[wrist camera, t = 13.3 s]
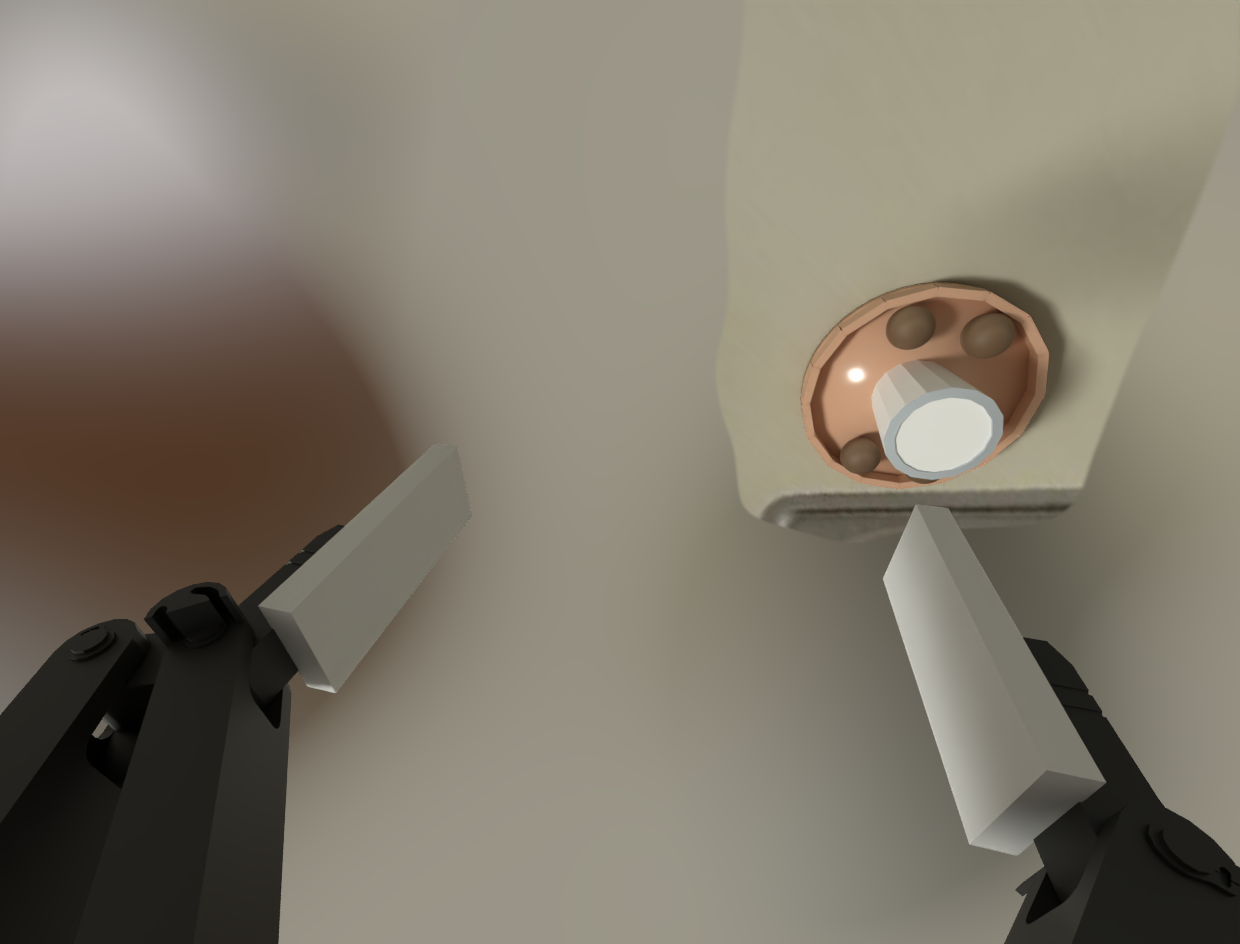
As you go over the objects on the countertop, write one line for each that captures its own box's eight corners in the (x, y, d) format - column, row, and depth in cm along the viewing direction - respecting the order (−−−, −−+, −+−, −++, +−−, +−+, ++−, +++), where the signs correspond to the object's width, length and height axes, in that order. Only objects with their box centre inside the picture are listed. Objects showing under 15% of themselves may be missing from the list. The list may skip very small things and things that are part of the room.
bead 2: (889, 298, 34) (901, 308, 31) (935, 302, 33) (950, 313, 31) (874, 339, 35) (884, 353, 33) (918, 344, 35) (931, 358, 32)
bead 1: (843, 428, 40) (850, 446, 37) (881, 434, 39) (890, 452, 37) (832, 459, 41) (838, 478, 39) (869, 464, 41) (877, 484, 38)
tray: (833, 271, 34) (838, 277, 33) (1080, 294, 32) (1100, 302, 30) (780, 458, 43) (782, 471, 41) (971, 486, 41) (981, 501, 39)
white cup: (983, 390, 36) (1030, 434, 30) (902, 449, 39) (929, 497, 34) (921, 332, 34) (957, 366, 29) (843, 398, 38) (861, 440, 32)
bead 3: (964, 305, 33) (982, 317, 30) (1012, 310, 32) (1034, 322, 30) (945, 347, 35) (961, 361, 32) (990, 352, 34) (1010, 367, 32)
